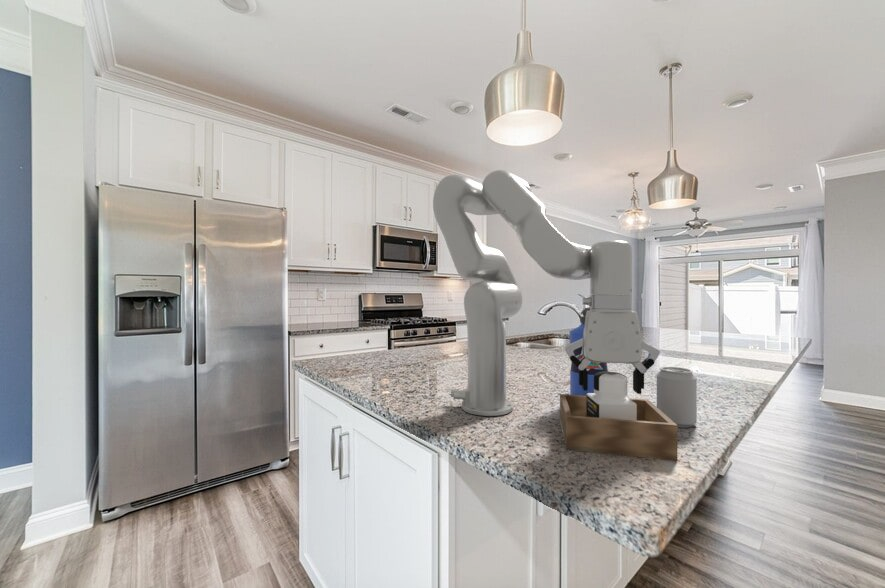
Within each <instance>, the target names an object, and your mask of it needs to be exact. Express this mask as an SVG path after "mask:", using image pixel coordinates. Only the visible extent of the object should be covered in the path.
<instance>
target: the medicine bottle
mask: <svg viewBox="0 0 885 588" xmlns="http://www.w3.org/2000/svg"><path fill="white" fill-rule="evenodd" d="M628 398H629V397H628V377H627V376H626V375H625V374H622V373H621V372H615V371H608V372H607V371H604V372H598V373H596V374H595V375H594V393H587V395H586V417H597V418H610V419H624V420H637V405H636V403H634V402H633V401H631V400H630V399H628Z"/></svg>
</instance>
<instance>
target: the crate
mask: <svg viewBox="0 0 885 588" xmlns="http://www.w3.org/2000/svg"><path fill="white" fill-rule="evenodd" d="M627 398H628V399H630V400H631V401H633V402H634V403H636V405H637V420H624V419H610V418H597V417H586V396H583V395H570V394H566V393H564V394H563V393H560V394H559V423H560V426H561V427H560V428H561V431H562V436H563V439H564V444H565V449H566V451H574V452H584V453H586V452H587V453H594V454H605V455H615V456H627V457H637V458H646V459H647V458H648V459H657V460H668V461H678V427H677V424H675V423H674V422H673V421H672V420H671V419H670V418H669V417H668V416H666V415H665V414H664V413H663V412H662V411H661V410H660V409H658V408H657V405H655V404H654V403H653V402H652V401H651V400H649V399H647V398H633V397H632V398H629V397H627Z"/></svg>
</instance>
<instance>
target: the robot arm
mask: <svg viewBox="0 0 885 588" xmlns="http://www.w3.org/2000/svg"><path fill="white" fill-rule="evenodd" d="M432 208H433V215H434V217H435V220H436V223H437V225H438V227H439V230H440V231H441V233H442V236H443V238H444V241H445V243H446V247H447V248H448V252H449V254H450V256H451V259H452V262H453V265H454V267H455V270H456V272H457V274H458V275H459V277H460V278H462V279H463V280H467V281H472V282H473V281H475V282H474V283H472V284H471V285H469V287H467V290H466V292H465V293H464V298H463V308H464V313H465V314H464V315H465V319H466V327H467V328H466V329H467V387H466V388H463V390H460V389H450V397H451V398H453V399H454V400H462V401H461V410H462V411H464V412H466V413H469V414H471V415H475V416H476V415H477V416H483V417H497V416H503V415H508V414H509V413H511V412H512V411H513V408H514V407H513V406H514V405H513V403H512V402H511V401H509V400H508V399H507V333H506V328H505V325H504V321H503V319H507V318H512V317H514V316H515V315H516V314H518V313H519V312H520V310H521V308H522V304H523V294H522V292H521V289H520V286H519V284H518V281H517V279H516V277H515V274H514V272H513V270H512V268H511V266H510V264H509V261H508V259H507V258H506V256H505V254H503V252H502V251H501V250H499V249H498V248H495V247H493V246H487V245H486V244H483V242H482V240H481V239H480V237H479V235H478V232H477V230H476V229H477V228H476V227H475V225H474V223H473V222H472V221H471V219H470V217H469V216H468V215H467V214H468V213H469V214H471V215H475V216H491V215H499V216H501V217H502V218H503V220H504V221H505V222H506V223H507V224H508V225H509V226H510V227H511V228H512V229H513V230H514V231H515V233H516V237H517V238H518V240H519V242H520V245H521V246H522V248H523V249H524V250H525V252H526V254H528V255H529V257H530V258H532V259H533V260H534V262H535V263H536V264H537V265H538V266H539V267H540V268H541V269H542V270H543V271H544V272H546V273H547V274H548V275H550V276H552V277H554V278H556V279H563V280H564V279H565V280H570V281H571V280H573V281H581V280H587V279H589V283H590V284H589V287H590V288H589V294H590V295H589V296H588V297H583V298H582V305H583V306H588V307H589V308H590V311H587V313H586V317H585V324H584V333H583V338H582V339H580V340H578V341H576V342H573V343H571V344H570V343H569V344H567V345H565V346H564V351H565V353H566V354H567V356H568V358H569V360H570V362H571V363H572V362H573V363H574V364H575V365H576V366H577V367H578V368H579V385H582V388H583V390H584V391H587V390H588V371H587V370H586V367H587V366H588V365H589V364H590V363H591V362H601V363H607V364H625V365H626V364H627V365H629V364H632V366H633V367H634V370H633V371H632V390H633V391H634V392H635V393H636V394H638V395H641V394H642V389H645V374H646V373H647V371H648V370H649V369H650V368H651V367H653V366H654V365H655V363H656V362H655V361H657V359H658V358H659V356H660V354H661V351H660V350H659V349H658V348H655V347H653V346H651V345H649V344H648V343H645V342H643V341H642V339H641V338H642V337H641V329H640V321H639V315H638V312H637V311H633V250H632V249H633V247H632V245H631V244H630V242H628V241H625V240H604V241H598V242H596V243H594V244H592V245H591V246H590V245H583V244H578V243H576V242H571V241H570V240H568V239H567V238H566V237H565V236H564V235H563V234H562V233H561V232H559V230H558V229H557V228H556V227H554V225H553V224H552V223H551V221H549V220H548V218H547V217H546V214H547V213H546V212H547V207H546V206H545V204H544V203H543V202H542V201H541V200H540V199H538V198H537V197H536V196H535V194H533V193H532V189H531V187H530V185H529V183H528V182H527V181H526V180H524V179H523V178H521V177H519V176H517V175H516V174H514V173H511V172H509V171H506V170H501V169H497V170H493V171H491V172H490V173H488V174H487V175H486V176H485V177H484V179H483V181H482V183H481V182H478V181H476V180H473V179H472V178H470V177H466V176H463V175H460V174H450V175H447V176H444V177H443V178H441V180H440V181H439V182H438V184H437V185H436V188H435V190H434V193H433V198H432ZM466 213H467V214H466ZM582 346H583V355H584V356H583V357H582V359H581V360H579V359H578V358H577V357H576V356H575V355H574V352H573V351H574V350H575V349H577V348H580V347H582ZM642 350H644V351H646V352H647V354H648V355H647V357H646V358H645V359H644V360H642V357H643V356H642V354H643V353H642ZM641 360H642V362H641Z"/></svg>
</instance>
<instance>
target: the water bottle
mask: <svg viewBox="0 0 885 588" xmlns="http://www.w3.org/2000/svg"><path fill="white" fill-rule="evenodd" d="M587 311H590V307H585V308H583V310H582V311H581V312H580V313H581V314H582V316H579V323H580V325H578V327H576V328H573V329H571V330H569V344H571V343H573V342H576V341H578V340H580V339H582V338H583V333H584V324H585V317H586V313H587ZM573 352H574V355H575V356H576V357H577V358H578V359H579V360H581V359H582V357H583V356H584V355H583V346H582V347H580V348H577V349H575V350H574V351H573ZM570 365H571V366H570V371H569V372H570V373H569V381H570V382H569V384H570V385H569V395H583V396H586V395H587V393H594V375H595V374H596V373H598V372H604V371H607V372H609V370H608V363H601V362H591V363H590V364H589V365H588V366H587V367H586V370H587V371H588V390H587V391H584V390H583V388H582V385H579V368H578V367H577V366H576V365H575V364H574V363H573V362H572V361H571V364H570Z"/></svg>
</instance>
